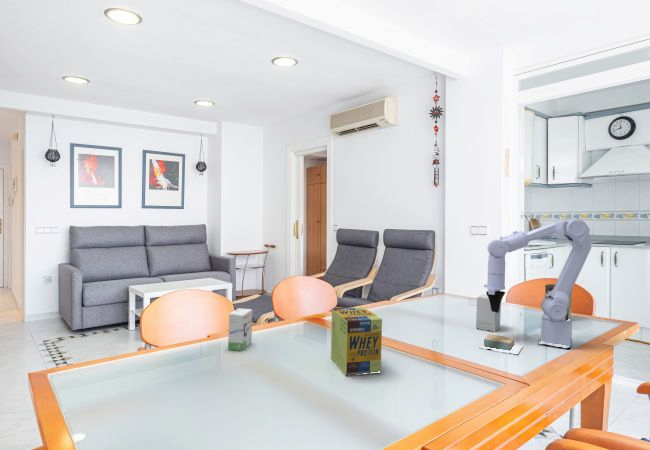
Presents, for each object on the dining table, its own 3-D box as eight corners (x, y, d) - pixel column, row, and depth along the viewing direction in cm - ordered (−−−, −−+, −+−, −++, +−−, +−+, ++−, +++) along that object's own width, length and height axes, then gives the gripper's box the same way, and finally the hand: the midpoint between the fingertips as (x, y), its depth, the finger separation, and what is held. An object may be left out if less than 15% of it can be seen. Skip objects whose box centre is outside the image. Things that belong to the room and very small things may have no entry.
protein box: (346, 377, 119) (347, 320, 118) (330, 358, 134) (331, 307, 133) (381, 373, 122) (383, 318, 121) (362, 355, 136) (363, 306, 136)
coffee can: (560, 323, 180) (561, 289, 179) (538, 317, 189) (539, 285, 189) (576, 320, 184) (578, 287, 184) (554, 315, 194) (556, 283, 193)
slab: (514, 338, 146) (510, 343, 140) (513, 347, 146) (509, 352, 140) (489, 334, 150) (484, 339, 144) (488, 342, 150) (484, 348, 144)
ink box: (237, 342, 148) (238, 307, 147) (252, 343, 147) (252, 308, 146) (227, 350, 139) (227, 313, 139) (242, 351, 138) (242, 314, 138)
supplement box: (495, 332, 165) (496, 299, 164) (475, 329, 169) (476, 296, 168) (500, 328, 170) (501, 296, 170) (481, 325, 175) (482, 293, 174)
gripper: (489, 270, 163) (488, 306, 164) (479, 275, 151) (478, 313, 152) (509, 272, 160) (508, 309, 160) (501, 277, 147) (499, 317, 148)
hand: (495, 311), depth 156 cm, fingers closed
